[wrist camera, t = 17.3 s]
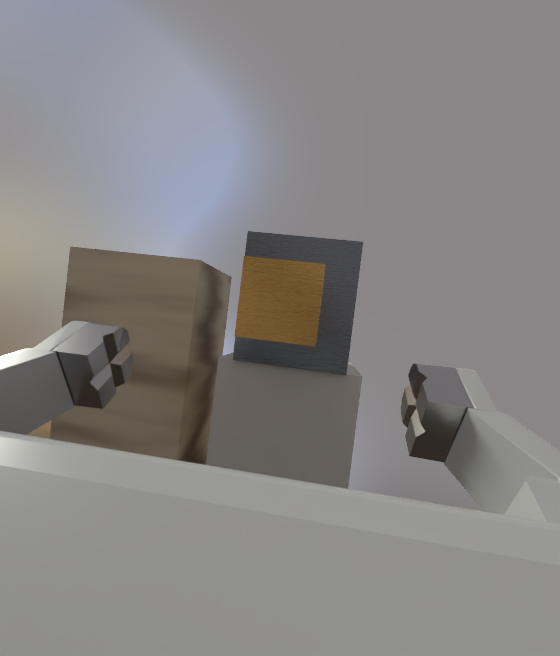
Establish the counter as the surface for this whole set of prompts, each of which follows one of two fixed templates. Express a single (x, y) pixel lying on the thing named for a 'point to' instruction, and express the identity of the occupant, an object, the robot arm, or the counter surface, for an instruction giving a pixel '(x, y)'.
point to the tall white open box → (284, 421)
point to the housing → (297, 302)
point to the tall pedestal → (150, 350)
